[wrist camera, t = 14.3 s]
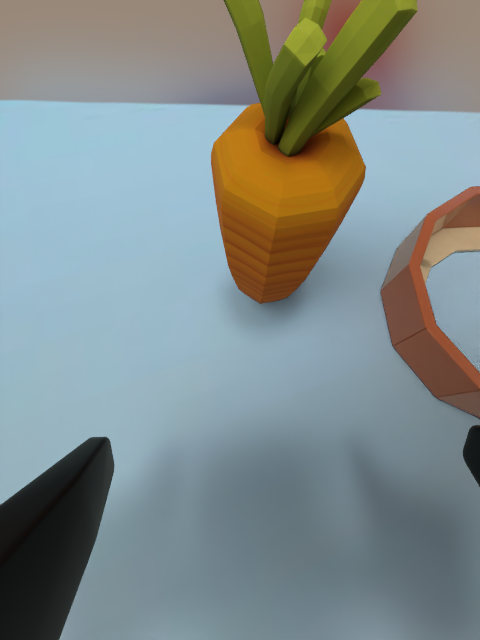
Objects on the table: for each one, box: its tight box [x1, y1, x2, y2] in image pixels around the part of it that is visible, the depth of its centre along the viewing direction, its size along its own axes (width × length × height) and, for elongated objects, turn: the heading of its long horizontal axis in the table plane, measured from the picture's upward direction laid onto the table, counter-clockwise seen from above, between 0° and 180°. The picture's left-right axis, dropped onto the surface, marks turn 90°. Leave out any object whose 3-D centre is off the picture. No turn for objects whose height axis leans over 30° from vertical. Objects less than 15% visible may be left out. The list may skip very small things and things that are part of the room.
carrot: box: [211, 0, 417, 304], centre depth 13 cm, size 5×5×15 cm
